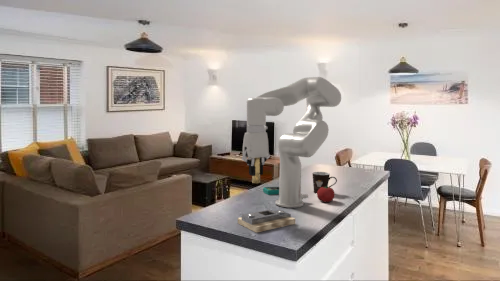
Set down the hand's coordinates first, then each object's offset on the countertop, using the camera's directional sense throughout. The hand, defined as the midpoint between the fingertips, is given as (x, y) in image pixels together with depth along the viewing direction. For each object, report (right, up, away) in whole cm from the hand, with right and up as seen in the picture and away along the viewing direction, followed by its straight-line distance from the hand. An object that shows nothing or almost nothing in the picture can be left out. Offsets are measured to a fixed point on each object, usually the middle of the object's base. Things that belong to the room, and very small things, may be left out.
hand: (256, 174), depth 150 cm
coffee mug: (+34, -13, +39) cm, 53 cm away
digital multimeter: (+12, -13, +39) cm, 43 cm away
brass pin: (0, -3, 0) cm, 3 cm away
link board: (+4, -17, -10) cm, 21 cm away
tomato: (+33, -15, +23) cm, 43 cm away
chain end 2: (+6, -15, -9) cm, 19 cm away
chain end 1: (+2, -16, -12) cm, 20 cm away
